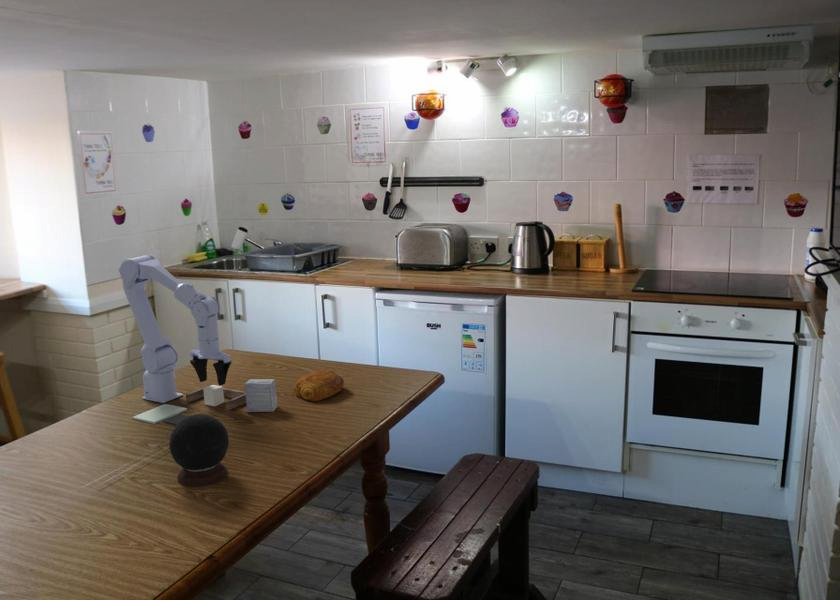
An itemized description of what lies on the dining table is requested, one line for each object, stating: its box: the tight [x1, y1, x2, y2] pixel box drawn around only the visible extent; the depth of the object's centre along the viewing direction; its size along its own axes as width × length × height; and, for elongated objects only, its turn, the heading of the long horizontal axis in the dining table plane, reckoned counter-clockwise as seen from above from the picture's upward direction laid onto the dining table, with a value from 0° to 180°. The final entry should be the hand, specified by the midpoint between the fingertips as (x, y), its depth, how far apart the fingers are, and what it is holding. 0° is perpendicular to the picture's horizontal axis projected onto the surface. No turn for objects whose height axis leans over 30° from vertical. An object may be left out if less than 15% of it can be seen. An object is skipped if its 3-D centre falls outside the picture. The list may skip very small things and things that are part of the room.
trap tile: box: [163, 413, 189, 426], centre depth 212 cm, size 6×6×1 cm
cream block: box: [203, 384, 225, 407], centre depth 225 cm, size 4×4×5 cm
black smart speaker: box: [169, 413, 230, 488], centre depth 174 cm, size 13×13×15 cm
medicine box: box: [244, 378, 278, 413], centre depth 218 cm, size 8×4×9 cm, turn 84°
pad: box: [131, 403, 188, 425], centre depth 217 cm, size 9×12×1 cm
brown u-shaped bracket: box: [185, 384, 246, 412], centre depth 227 cm, size 17×10×2 cm, turn 60°
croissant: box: [293, 369, 345, 402], centre depth 231 cm, size 14×16×8 cm
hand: (212, 382), depth 224 cm, fingers open, 7 cm apart
